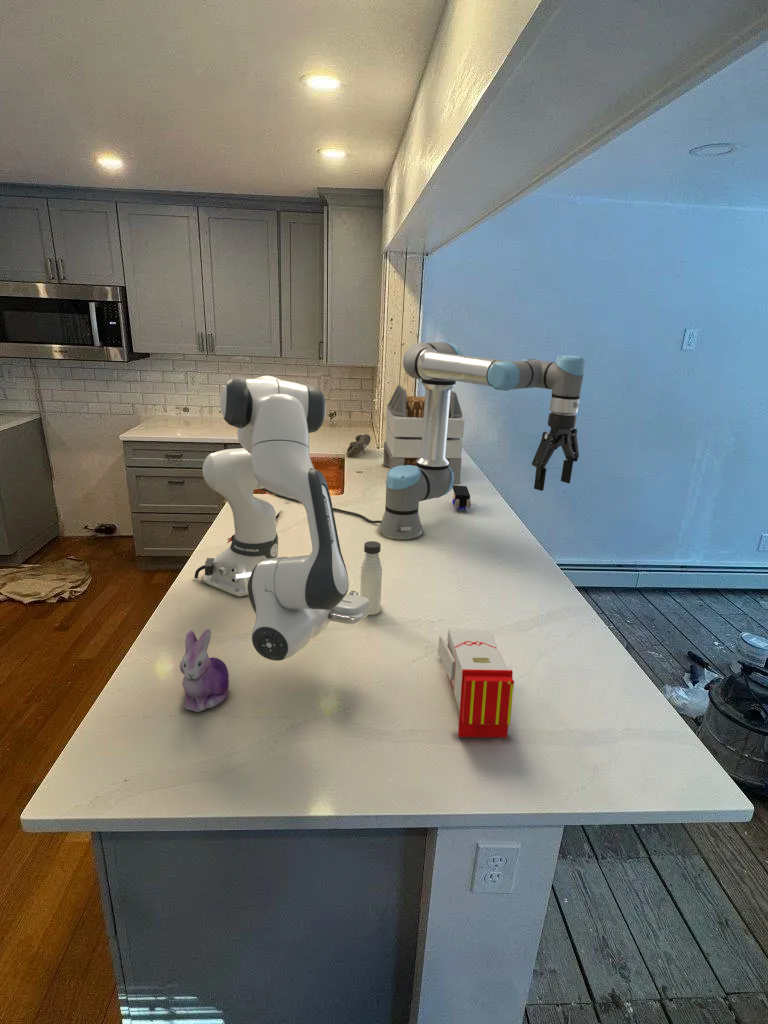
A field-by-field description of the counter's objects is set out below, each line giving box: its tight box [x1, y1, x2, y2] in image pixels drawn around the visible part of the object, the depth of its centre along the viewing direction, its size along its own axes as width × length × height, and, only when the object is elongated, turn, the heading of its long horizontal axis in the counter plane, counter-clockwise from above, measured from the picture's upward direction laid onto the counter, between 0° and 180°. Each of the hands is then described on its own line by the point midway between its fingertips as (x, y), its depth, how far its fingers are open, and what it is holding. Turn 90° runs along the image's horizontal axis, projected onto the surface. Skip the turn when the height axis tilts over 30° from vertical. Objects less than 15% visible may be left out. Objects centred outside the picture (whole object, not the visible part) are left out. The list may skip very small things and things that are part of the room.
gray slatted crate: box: [383, 384, 465, 484], centre depth 268 cm, size 34×33×41 cm
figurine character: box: [451, 484, 472, 513], centre depth 228 cm, size 7×8×15 cm
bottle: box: [359, 552, 383, 616], centre depth 146 cm, size 5×5×18 cm
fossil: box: [346, 433, 372, 458], centre depth 305 cm, size 22×10×15 cm
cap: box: [363, 540, 381, 554], centre depth 143 cm, size 4×4×2 cm
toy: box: [437, 628, 515, 738], centre depth 117 cm, size 12×13×30 cm
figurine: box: [179, 628, 230, 713], centre depth 110 cm, size 9×10×15 cm
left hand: (335, 591), depth 127 cm, fingers open, 8 cm apart
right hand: (552, 485), depth 166 cm, fingers open, 13 cm apart
